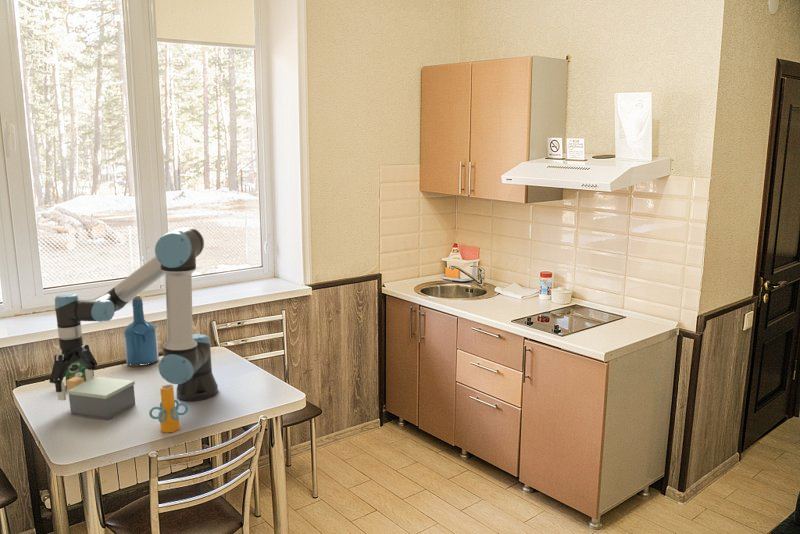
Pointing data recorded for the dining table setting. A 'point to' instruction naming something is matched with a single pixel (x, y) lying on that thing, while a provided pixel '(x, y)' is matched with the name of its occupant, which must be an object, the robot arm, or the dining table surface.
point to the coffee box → (76, 370)
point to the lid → (97, 386)
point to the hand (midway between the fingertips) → (76, 392)
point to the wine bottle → (140, 337)
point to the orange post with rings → (168, 410)
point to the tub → (102, 405)
